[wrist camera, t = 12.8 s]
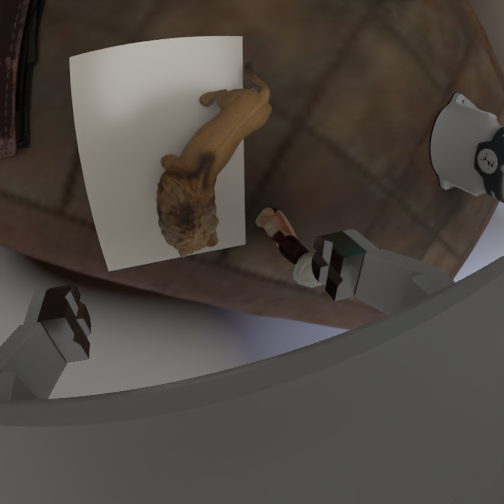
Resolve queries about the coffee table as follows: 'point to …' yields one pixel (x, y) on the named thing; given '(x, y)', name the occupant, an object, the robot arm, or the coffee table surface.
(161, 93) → the pedestal
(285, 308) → the coffee table surface
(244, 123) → the lion figurine
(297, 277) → the grandmother figurine
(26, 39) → the diary
